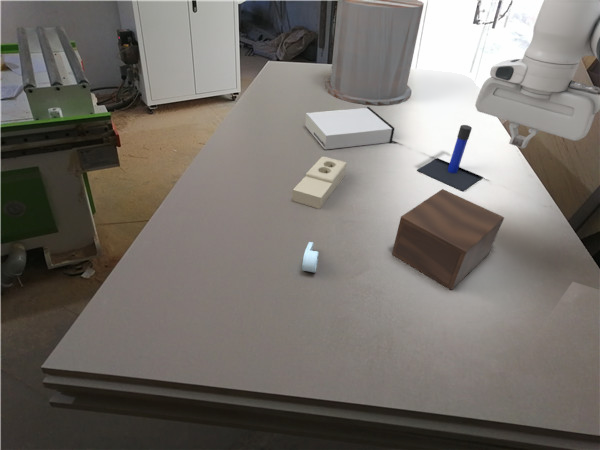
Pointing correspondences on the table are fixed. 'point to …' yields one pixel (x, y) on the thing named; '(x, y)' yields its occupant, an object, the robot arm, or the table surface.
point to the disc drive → (348, 128)
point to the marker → (459, 148)
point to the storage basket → (374, 50)
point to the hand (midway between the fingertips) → (517, 145)
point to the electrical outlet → (320, 182)
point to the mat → (449, 174)
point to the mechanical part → (310, 259)
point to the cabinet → (446, 237)
